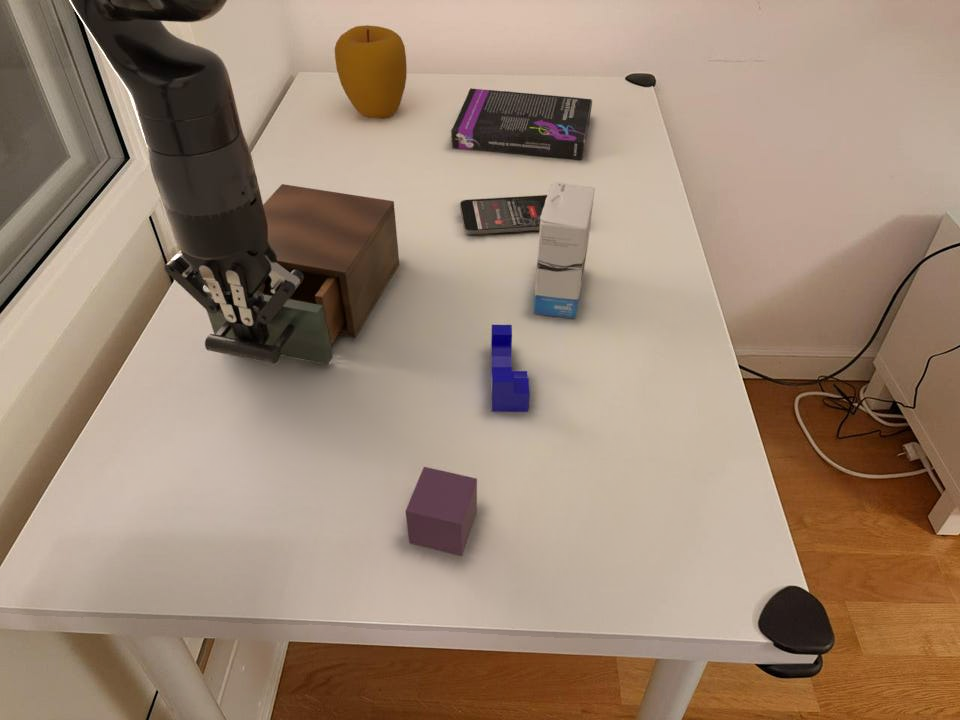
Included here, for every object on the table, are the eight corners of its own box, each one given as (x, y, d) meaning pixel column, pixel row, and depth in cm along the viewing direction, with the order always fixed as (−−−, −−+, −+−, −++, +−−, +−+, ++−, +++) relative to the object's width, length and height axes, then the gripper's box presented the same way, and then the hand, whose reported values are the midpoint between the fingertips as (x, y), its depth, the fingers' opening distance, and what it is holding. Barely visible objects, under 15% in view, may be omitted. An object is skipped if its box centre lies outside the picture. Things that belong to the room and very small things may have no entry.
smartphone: (584, 223, 91) (465, 231, 90) (583, 228, 91) (465, 236, 90) (572, 193, 96) (459, 200, 95) (571, 198, 97) (459, 204, 95)
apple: (332, 105, 117) (319, 22, 108) (393, 92, 121) (387, 10, 112) (356, 133, 110) (345, 47, 101) (421, 118, 114) (416, 34, 105)
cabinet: (355, 338, 77) (345, 272, 71) (239, 315, 79) (220, 250, 73) (399, 264, 86) (394, 200, 80) (295, 246, 89) (281, 183, 83)
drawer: (307, 399, 69) (294, 346, 64) (191, 374, 71) (171, 321, 67) (374, 290, 81) (367, 239, 76) (273, 272, 83) (261, 221, 79)
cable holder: (528, 411, 69) (530, 382, 66) (491, 411, 69) (492, 382, 66) (524, 354, 75) (526, 324, 72) (491, 353, 75) (491, 324, 72)
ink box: (577, 320, 79) (588, 228, 71) (531, 314, 79) (538, 222, 71) (584, 274, 85) (596, 184, 77) (542, 268, 85) (549, 179, 77)
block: (462, 556, 58) (461, 524, 55) (408, 543, 59) (404, 511, 56) (477, 510, 61) (477, 478, 58) (426, 498, 62) (423, 466, 59)
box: (451, 151, 107) (583, 161, 104) (449, 128, 104) (585, 139, 101) (470, 109, 117) (592, 117, 114) (469, 87, 114) (594, 95, 111)
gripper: (108, 199, 57) (172, 359, 69) (261, 224, 54) (300, 386, 66) (163, 154, 62) (214, 310, 74) (305, 175, 59) (334, 333, 71)
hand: (255, 345), depth 70 cm, fingers closed
